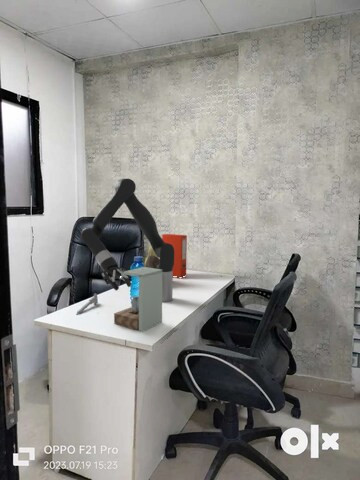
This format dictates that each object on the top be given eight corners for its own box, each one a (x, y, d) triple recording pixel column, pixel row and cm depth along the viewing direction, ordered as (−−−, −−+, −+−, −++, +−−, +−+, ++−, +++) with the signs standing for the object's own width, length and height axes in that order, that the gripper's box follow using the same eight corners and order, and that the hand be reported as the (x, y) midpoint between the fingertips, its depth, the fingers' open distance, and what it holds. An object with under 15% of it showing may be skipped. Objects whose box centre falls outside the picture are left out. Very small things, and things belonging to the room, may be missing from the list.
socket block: (114, 323, 157) (114, 313, 156) (134, 315, 168) (134, 305, 168) (137, 330, 149) (137, 319, 148) (156, 321, 160) (157, 311, 160)
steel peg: (132, 321, 160) (132, 296, 159) (139, 321, 160) (139, 296, 159) (131, 323, 157) (131, 298, 155) (139, 323, 157) (138, 298, 155)
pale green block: (123, 326, 153) (123, 271, 151) (144, 318, 165) (143, 266, 162) (142, 331, 147) (142, 274, 144) (162, 322, 159) (162, 269, 156)
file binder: (167, 274, 268) (168, 233, 265) (186, 276, 259) (186, 235, 255) (161, 275, 261) (161, 234, 258) (180, 278, 252) (180, 235, 249)
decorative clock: (152, 278, 252) (152, 238, 249) (168, 280, 247) (168, 239, 244) (134, 287, 226) (134, 242, 222) (151, 289, 221) (151, 243, 218)
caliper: (96, 303, 189) (95, 292, 188) (97, 303, 188) (97, 292, 188) (75, 315, 169) (75, 302, 168) (77, 315, 169) (77, 303, 168)
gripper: (99, 258, 158) (117, 286, 153) (120, 254, 170) (138, 280, 165) (91, 268, 162) (109, 295, 157) (113, 264, 174) (130, 289, 169)
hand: (124, 287), depth 161 cm, fingers open, 8 cm apart
